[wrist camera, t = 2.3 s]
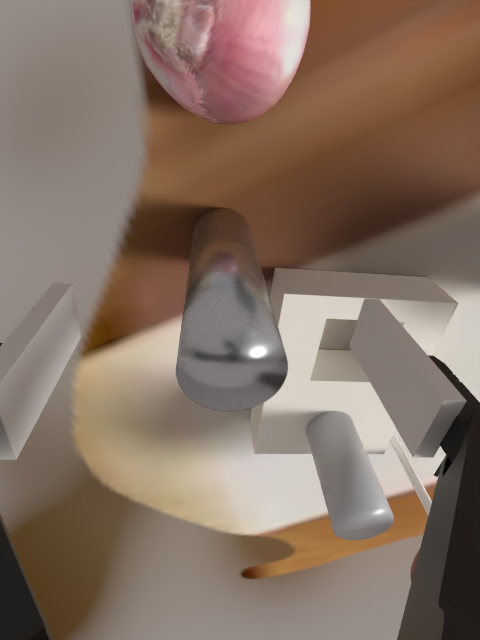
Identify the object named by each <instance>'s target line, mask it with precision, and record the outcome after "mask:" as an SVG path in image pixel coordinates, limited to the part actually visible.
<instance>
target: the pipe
mask: <svg viewBox="0 0 480 640" xmlns="http://www.w3.org/2000/svg"><path fill="white" fill-rule="evenodd" d="M287 372H288V361H287V356H286V353H285V349H284V346H283V342H282V339H281V335H280V332H279V328H278V325H277V321H276V318H275V314H274V311H273V307H272V304H271V300H270V297H269V293H268V290H267V286H266V283H265V279H264V276H263V272H262V268H261V265H260V261H259V258H258V254H257V251H256V247H255V244H254V240H253V237H252V233H251V230H250V227H249V224H248V222H247V221H246V219H245V218H244V217H243V216H242V215H241V214H239V213H238V212H236V211H234V210H232V209H228V208H216V209H213V210H210V211H208V212H206V213H205V214H204V215H202V216H201V217H200V218H199V220H198V221H197V223H196V225H195V228H194V232H193V239H192V247H191V255H190V263H189V271H188V279H187V286H186V294H185V302H184V310H183V318H182V325H181V333H180V341H179V349H178V357H177V365H176V376H177V380H178V383H179V385H180V387H181V389H182V390H183V392H184V393H185V394H186V395H187V396H188V397H189V398H190V399H191V400H193V401H194V402H196V403H198V404H200V405H202V406H204V407H207V408H209V409H213V410H219V411H241V410H246V409H250V408H253V407H256V406H258V405H260V404H262V403H264V402H266V401H267V400H269V399H270V398H271V397H273V396H274V395H275V394H276V393H277V392H278V391H279V390H280V388H281V387H282V385H283V384H284V381H285V379H286V376H287Z"/></svg>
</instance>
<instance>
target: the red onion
mask: <svg viewBox="0 0 480 640" xmlns="http://www.w3.org/2000/svg"><path fill="white" fill-rule="evenodd" d="M130 4H131V18H132V27H133V32H134V34H135V37H136V40H137V44H138V47H139V49H140V52H141V54H142V57H143V60H144V61H145V63H146V65H147V67H148V68H149V70H150V71H151V73H152V74H153V76H154V77H155V79H156V80H157V81H158V83H159V84H160V85H161V86H162V87H163V88H164V90H166V91H167V93H168V94H169V95H170V96H172V98H174V99H175V100H176V101H177V102H178V103H179V104H180V105H181V106H183V107H184V108H185V109H186V110H188V111H190V112H191V113H193V114H195V115H197V116H198V117H201V118H202V119H204V120H206V121H209V122H211V123H216V124H238V123H243V122H246V121H249V120H252V119H254V118H257V117H258V116H260V115H262V114H263V113H265V112H266V111H268V109H270V108H271V107H272V106H274V105H275V104H276V103H277V102H278V101H279V99H280V98H281V97H282V96H283V94H284V93H285V91H286V89H287V88H288V86H289V84H290V83H291V81H292V79H293V77H294V75H295V73H296V71H297V68H298V66H299V64H300V61H301V58H302V55H303V52H304V49H305V45H306V40H307V36H308V31H309V25H310V0H130Z"/></svg>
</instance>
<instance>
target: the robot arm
mask: <svg viewBox="0 0 480 640" xmlns="http://www.w3.org/2000/svg"><path fill="white" fill-rule="evenodd" d="M80 338H81V334H80V328H79V322H78V316H77V310H76V304H75V298H74V292H73V286H72V284H63V283H53V284H52V285H51V286H50V287H49V289H48V290H47V291H46V292H45V293H44V295H43V296H42V297H41V298H40V300H39V301H38V302H37V303H36V304H35V305H34V307H33V308H32V309H31V310H30V311H29V313H28V314H27V315H26V316H25V318H24V319H23V320H22V321H21V322H20V324H19V325H18V326H17V327H16V328H15V329H14V331H13V332H12V333H11V334H10V335H9V337H8V338H7V339H6V340H5V342H4V343H0V460H16V459H17V457H18V455H19V454H20V452H21V450H22V448H23V446H24V444H25V442H26V440H27V438H28V437H29V435H30V433H31V431H32V429H33V427H34V425H35V423H36V421H37V419H38V417H39V416H40V414H41V412H42V410H43V408H44V406H45V404H46V402H47V400H48V399H49V397H50V395H51V393H52V391H53V389H54V387H55V385H56V384H57V382H58V379H59V378H60V376H61V374H62V372H63V370H64V368H65V366H66V365H67V363H68V361H69V359H70V357H71V355H72V353H73V351H74V349H75V348H76V346H77V344H78V342H79V340H80ZM349 347H350V348H351V350H352V352H353V354H354V355H355V357H356V359H357V361H358V362H359V364H360V366H361V367H362V369H363V371H364V373H365V374H366V376H367V378H368V380H369V381H370V383H371V385H372V387H373V388H374V390H375V392H376V394H377V395H378V397H379V399H380V401H381V402H382V404H383V406H384V408H385V409H386V411H387V413H388V415H389V416H390V418H391V420H392V422H393V423H394V425H395V427H396V429H397V430H398V432H399V434H400V436H401V437H402V439H403V441H404V442H405V444H406V446H407V448H408V449H409V451H410V453H411V455H412V456H413V457H434V455H435V453H436V452H437V450H438V448H439V447H440V446H441V447H442V449H443V450H444V452H445V453H446V456H445V458H444V459H443V461H442V463H441V464H440V466H439V467H438V469H437V471H436V472H435V474H434V476H436V477H437V476H438V475H439V476H438V480H437V484H436V488H435V492H434V496H433V500H432V504H431V508H430V512H429V516H428V520H427V524H426V528H425V532H424V536H423V540H422V544H421V548H420V551H419V555H418V559H417V563H416V567H415V571H414V575H413V579H412V583H411V587H410V591H409V595H408V599H407V603H406V607H405V611H404V615H403V619H402V623H401V627H400V631H399V635H398V638H397V640H480V403H479V401H478V400H477V399H476V398H475V397H474V396H473V395H472V394H471V392H470V391H469V390H468V389H467V388H466V387H465V386H464V385H463V384H462V382H459V379H458V378H457V377H456V376H455V375H453V372H452V371H451V370H450V369H449V368H448V367H447V366H446V365H445V364H444V363H443V362H442V361H440V360H439V359H437V358H436V357H434V356H430V355H427V354H426V353H425V352H424V350H423V349H422V348H421V347H420V346H419V345H418V343H417V342H416V341H415V340H414V339H413V338H412V336H411V335H410V334H409V333H408V332H407V331H406V330H405V328H404V327H403V326H402V325H401V324H400V323H399V321H398V320H397V319H396V318H395V317H394V316H393V314H392V313H391V312H390V311H389V310H388V309H387V307H386V306H385V305H384V304H383V303H382V302H381V300H380V299H364V301H363V304H362V307H361V311H360V314H359V317H358V320H357V323H356V326H355V329H354V332H353V336H352V339H351V342H350V345H349ZM0 640H53V637H52V635H51V632H50V630H49V628H48V625H47V623H46V621H45V618H44V616H43V614H42V611H41V609H40V606H39V604H38V602H37V599H36V597H35V595H34V592H33V590H32V588H31V585H30V583H29V581H28V578H27V576H26V574H25V571H24V569H23V567H22V564H21V562H20V559H19V557H18V555H17V552H16V550H15V548H14V545H13V543H12V541H11V538H10V536H9V533H8V531H7V529H6V527H5V524H4V522H3V519H2V517H1V515H0Z"/></svg>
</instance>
